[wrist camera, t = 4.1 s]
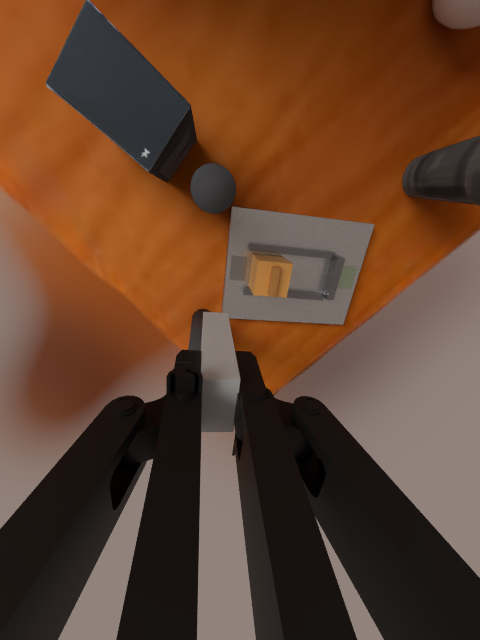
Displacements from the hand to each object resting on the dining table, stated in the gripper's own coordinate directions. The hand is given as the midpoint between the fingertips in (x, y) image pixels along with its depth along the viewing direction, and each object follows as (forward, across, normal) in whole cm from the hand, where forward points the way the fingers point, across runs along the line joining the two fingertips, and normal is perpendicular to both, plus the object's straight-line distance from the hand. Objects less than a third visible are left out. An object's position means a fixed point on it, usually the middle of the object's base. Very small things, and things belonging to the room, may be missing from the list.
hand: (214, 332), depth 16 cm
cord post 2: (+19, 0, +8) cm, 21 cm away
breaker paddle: (+17, +7, 0) cm, 18 cm away
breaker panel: (+19, +11, 0) cm, 22 cm away
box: (+19, -7, +13) cm, 24 cm away
